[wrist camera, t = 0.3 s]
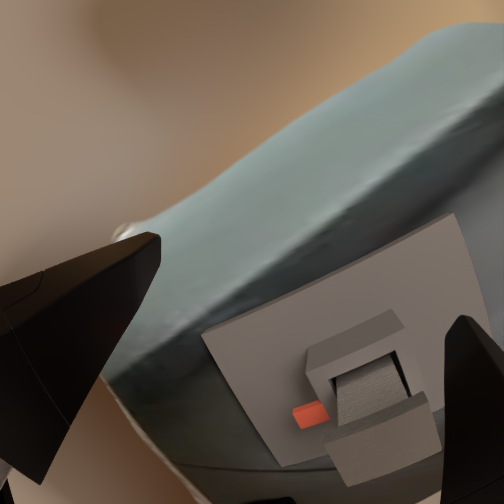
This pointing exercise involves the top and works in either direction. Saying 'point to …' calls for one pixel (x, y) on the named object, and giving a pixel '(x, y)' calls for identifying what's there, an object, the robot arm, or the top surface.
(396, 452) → the grey-brown stepped block
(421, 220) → the top surface
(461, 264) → the jack stand base
